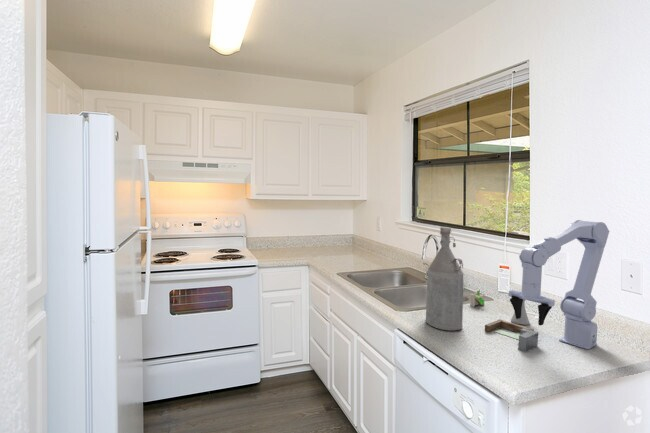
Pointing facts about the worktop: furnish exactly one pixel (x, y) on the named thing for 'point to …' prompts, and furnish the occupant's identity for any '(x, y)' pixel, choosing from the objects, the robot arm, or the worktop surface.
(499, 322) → the grey and brown piece
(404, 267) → the worktop surface
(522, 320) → the flask
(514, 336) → the pad
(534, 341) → the bracket
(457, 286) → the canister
